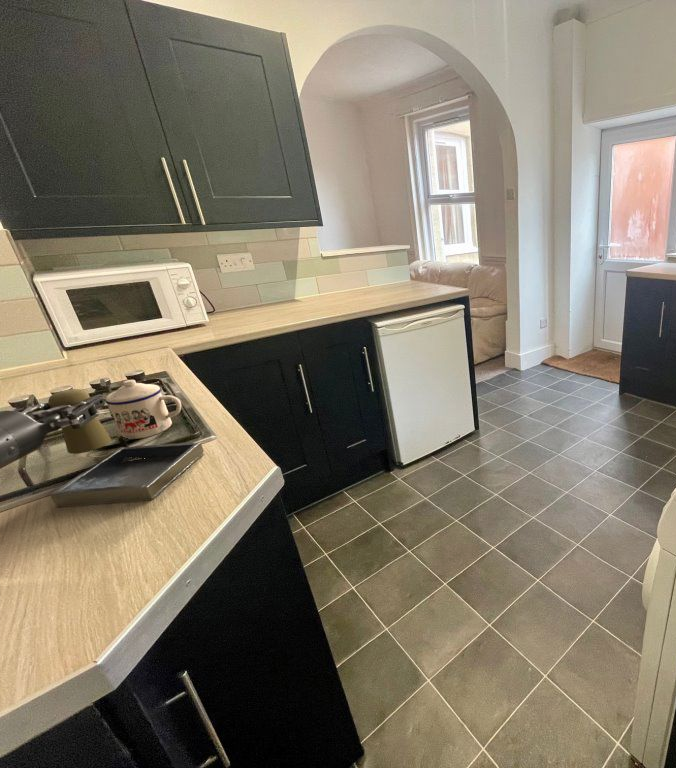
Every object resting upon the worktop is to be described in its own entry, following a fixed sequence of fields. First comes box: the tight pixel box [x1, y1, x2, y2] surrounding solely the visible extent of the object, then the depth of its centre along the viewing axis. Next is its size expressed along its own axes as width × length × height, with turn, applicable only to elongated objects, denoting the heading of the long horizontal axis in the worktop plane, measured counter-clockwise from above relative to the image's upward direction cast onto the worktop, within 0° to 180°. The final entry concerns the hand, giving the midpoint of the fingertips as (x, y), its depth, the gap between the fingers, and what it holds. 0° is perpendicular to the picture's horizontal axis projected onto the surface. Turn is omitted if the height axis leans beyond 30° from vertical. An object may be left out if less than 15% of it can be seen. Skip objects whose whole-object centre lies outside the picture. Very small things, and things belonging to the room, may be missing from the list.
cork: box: [47, 388, 112, 455], centre depth 77 cm, size 6×6×11 cm
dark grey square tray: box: [49, 441, 205, 508], centre depth 74 cm, size 15×15×3 cm
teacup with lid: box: [105, 379, 182, 440], centre depth 90 cm, size 12×9×12 cm
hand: (84, 400), depth 78 cm, fingers closed on cork, 5 cm apart
